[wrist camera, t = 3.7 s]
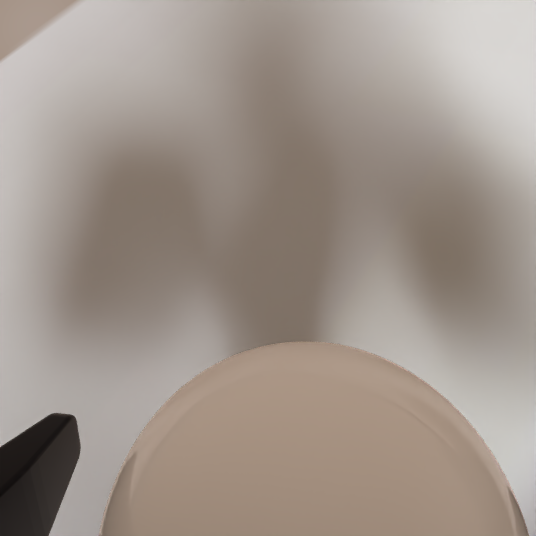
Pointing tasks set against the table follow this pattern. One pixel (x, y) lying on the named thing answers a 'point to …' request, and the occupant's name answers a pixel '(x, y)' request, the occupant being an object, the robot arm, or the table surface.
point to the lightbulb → (310, 455)
